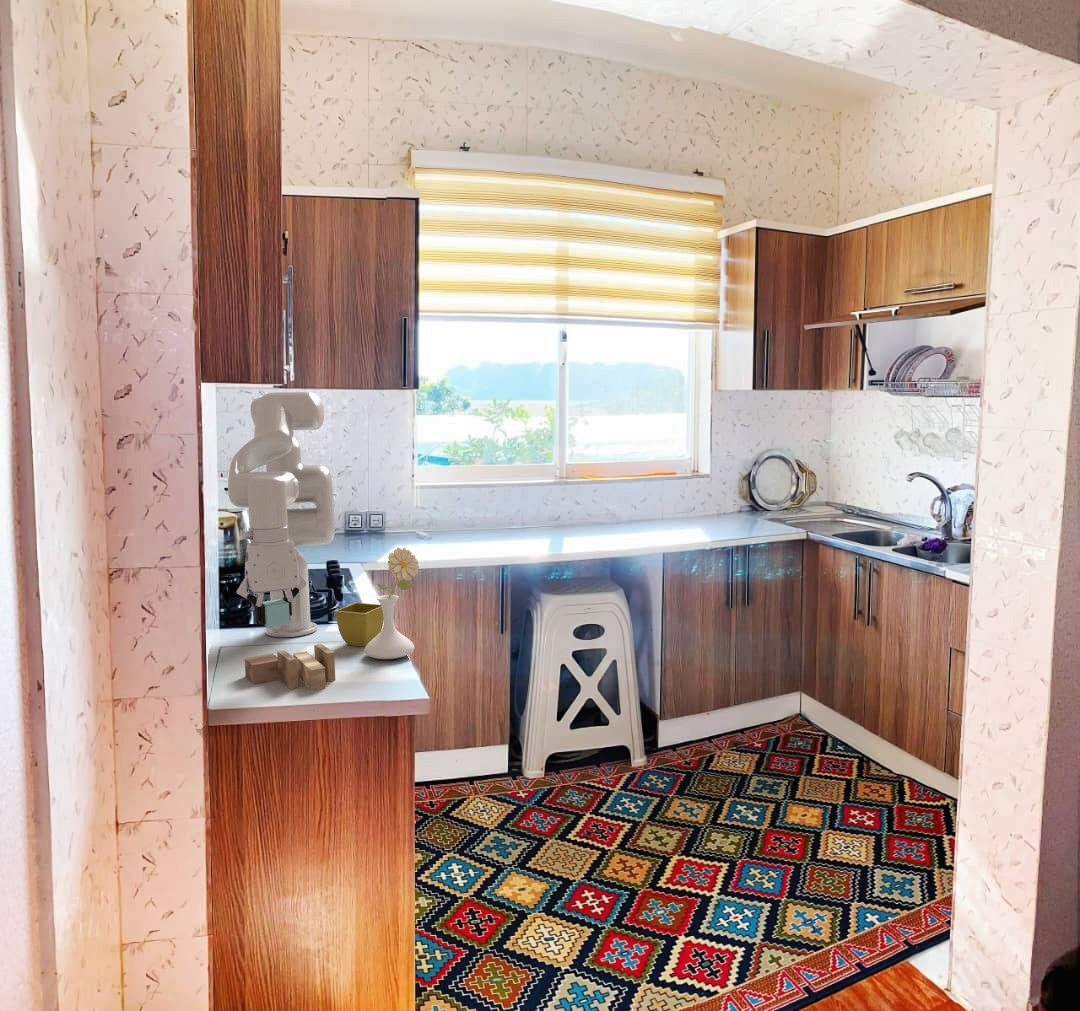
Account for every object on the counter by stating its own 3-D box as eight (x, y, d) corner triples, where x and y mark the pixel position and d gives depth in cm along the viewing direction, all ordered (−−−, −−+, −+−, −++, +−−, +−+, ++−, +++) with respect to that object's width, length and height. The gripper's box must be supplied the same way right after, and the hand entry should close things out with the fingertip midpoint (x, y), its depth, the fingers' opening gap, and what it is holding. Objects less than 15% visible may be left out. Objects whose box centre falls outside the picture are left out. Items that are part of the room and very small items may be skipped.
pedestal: (245, 676, 183) (244, 658, 182) (273, 671, 186) (272, 653, 186) (253, 683, 178) (252, 665, 178) (282, 678, 181) (281, 659, 181)
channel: (278, 679, 181) (277, 651, 180) (322, 670, 186) (320, 643, 185) (290, 688, 174) (289, 660, 174) (335, 679, 180) (334, 652, 179)
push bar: (294, 673, 185) (293, 653, 185) (308, 671, 187) (307, 651, 186) (311, 691, 173) (310, 670, 173) (325, 689, 175) (324, 667, 174)
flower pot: (367, 650, 201) (365, 613, 200) (335, 647, 205) (334, 610, 203) (387, 640, 209) (385, 604, 208) (356, 637, 213) (355, 602, 212)
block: (261, 623, 179) (260, 602, 178) (282, 619, 181) (281, 599, 181) (268, 627, 175) (267, 606, 174) (289, 624, 177) (288, 602, 177)
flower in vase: (370, 666, 189) (365, 554, 186) (360, 652, 199) (355, 546, 196) (427, 658, 194) (423, 549, 191) (415, 646, 204) (411, 542, 201)
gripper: (232, 542, 168) (238, 632, 171) (315, 533, 178) (319, 619, 180) (222, 537, 175) (227, 624, 177) (302, 529, 184) (307, 612, 186)
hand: (274, 620), depth 179 cm, fingers closed on block, 4 cm apart
